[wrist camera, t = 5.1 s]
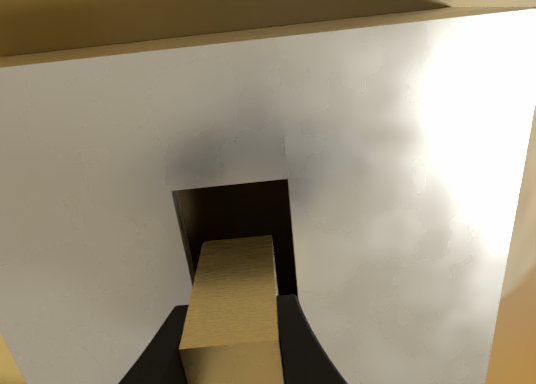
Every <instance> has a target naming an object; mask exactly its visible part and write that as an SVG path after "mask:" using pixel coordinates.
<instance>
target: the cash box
mask: <svg viewBox="0 0 536 384" xmlns="http://www.w3.org/2000/svg"><path fill="white" fill-rule="evenodd" d="M535 100H536V7H448V8H439V9H430V10H421V11H412V12H403V13H394V14H385V15H376V16H366V17H357V18H348V19H339V20H330V21H321V22H312V23H303V24H294V25H285V26H276V27H267V28H258V29H249V30H240V31H231V32H222V33H213V34H204V35H195V36H186V37H177V38H168V39H159V40H150V41H141V42H132V43H123V44H114V45H105V46H96V47H87V48H78V49H69V50H60V51H51V52H42V53H33V54H24V55H15V56H6V57H0V333H1V335H2V337H3V339H4V341H5V342H6V344H7V346H8V348H9V350H10V352H11V354H12V356H13V358H14V360H15V362H16V364H17V366H18V368H19V370H20V372H21V374H22V376H23V378H24V380H25V382H26V384H118V383H119V382H120V381H121V379H122V378H123V377H124V376H125V374H126V373H127V372H128V371H129V369H130V368H131V367H132V366H133V364H134V363H135V362H136V361H137V359H138V358H139V357H140V355H141V354H142V352H143V351H144V350H145V348H146V347H147V346H148V344H149V343H150V342H151V340H152V339H153V337H154V336H155V334H156V333H157V332H158V330H159V329H160V327H161V326H162V324H163V323H164V321H165V320H166V318H167V317H168V315H169V314H170V312H171V311H172V309H173V308H174V307H175V306H178V305H189V302H190V297H191V293H192V288H193V284H194V280H195V275H196V274H195V270H194V265H193V261H192V256H191V251H190V247H189V242H188V237H187V233H186V228H185V224H184V219H183V214H182V210H181V205H180V200H179V196H178V191H177V190H184V189H194V188H203V187H213V186H223V185H232V184H242V183H252V182H261V181H271V180H281V179H287V182H288V194H289V205H290V216H291V228H292V239H293V250H294V262H295V273H296V284H297V296H298V298H299V302H300V305H301V308H302V310H303V312H304V315H305V317H306V319H307V321H308V323H309V325H310V327H311V329H312V331H313V332H314V334H315V336H316V337H317V339H318V341H319V343H320V344H321V346H322V348H323V349H324V351H325V352H326V354H327V355H328V357H329V358H330V360H331V361H332V363H333V364H334V366H335V367H336V368H337V370H338V371H339V373H340V374H341V375H342V377H343V378H344V379H345V381H346V382H347V383H348V384H485V380H486V375H487V369H488V363H489V357H490V352H491V346H492V341H493V335H494V330H495V324H496V318H497V313H498V307H499V302H500V296H501V290H502V285H503V279H504V274H505V268H506V262H507V257H508V251H509V246H510V240H511V234H512V229H513V223H514V218H515V212H516V206H517V201H518V195H519V190H520V184H521V178H522V173H523V167H524V162H525V156H526V150H527V145H528V139H529V134H530V128H531V122H532V117H533V111H534V106H535Z"/></svg>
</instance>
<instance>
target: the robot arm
mask: <svg viewBox="0 0 536 384" xmlns="http://www.w3.org/2000/svg"><path fill="white" fill-rule="evenodd" d="M276 301H277V321H278V322H277V324H278V332H279V340H280V348H281V357H282V365H283V374H284V382H285V384H348V383H347V382H346V381H345V379H344V378H343V377H342V375H341V374H340V373H339V371H338V370H337V368H336V367H335V366H334V364H333V363H332V361H331V360H330V358H329V357H328V355H327V354H326V352H325V351H324V349H323V348H322V346H321V344H320V343H319V341H318V339H317V337H316V336H315V334H314V332H313V331H312V329H311V327H310V325H309V323H308V321H307V319H306V317H305V315H304V312H303V310H302V308H301V305H300V302H299V298H298V296H296V295H295V294H291V295H281V296H276ZM188 306H189V305H178V306H175V307H174V308H173V309H172V311H171V312H170V314H169V315H168V317H167V318H166V320H165V321H164V323H163V324H162V326H161V327H160V329H159V330H158V332H157V333H156V334H155V336H154V337H153V339H152V340H151V342H150V343H149V344H148V346H147V347H146V348H145V350H144V351H143V352H142V354H141V355H140V357H139V358H138V359H137V361H136V362H135V363H134V364H133V366H132V367H131V368H130V369H129V371H128V372H127V373H126V374H125V376H124V377H123V378H122V379H121V381H120V382H119V383H118V384H188V382H187V379H186V375H185V371H184V367H183V364H182V360H181V356H180V352H179V346H180V342H181V337H182V333H183V328H184V324H185V319H186V315H187V311H188Z"/></svg>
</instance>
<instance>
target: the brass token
mask: <svg viewBox="0 0 536 384" xmlns="http://www.w3.org/2000/svg"><path fill="white" fill-rule="evenodd" d="M276 296H279V294H278V285H277V276H276V268H275V259H274V250H273V241H272V235H265V236H256V237H246V238H236V239H226V240H216V241H206V242H203V244H202V249H201V253H200V257H199V262H198V266H197V271H196V275H195V280H194V284H193V288H192V293H191V297H190V302H189V306H188V311H187V315H186V319H185V324H184V328H183V333H182V337H181V342H180V346H179V352H180V356H181V360H182V364H183V367H184V371H185V375H186V379H187V382H188V384H285V382H284V374H283V365H282V357H281V348H280V340H279V332H278V324H277V322H278V321H277V301H276Z"/></svg>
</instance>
